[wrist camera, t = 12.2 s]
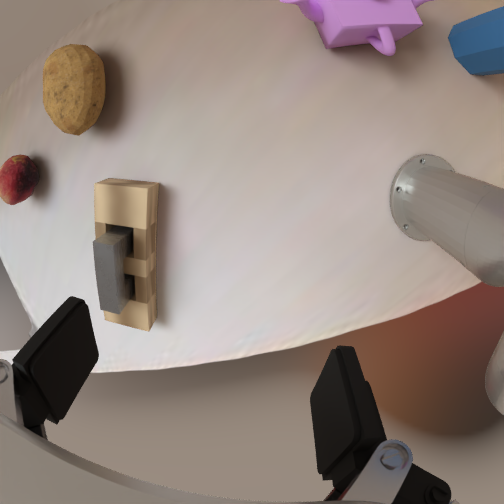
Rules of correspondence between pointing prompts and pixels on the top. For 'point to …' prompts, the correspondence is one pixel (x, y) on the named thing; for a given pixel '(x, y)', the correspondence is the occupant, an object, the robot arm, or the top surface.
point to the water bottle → (480, 43)
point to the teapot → (362, 21)
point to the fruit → (17, 179)
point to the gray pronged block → (114, 268)
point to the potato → (73, 88)
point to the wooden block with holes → (144, 254)
